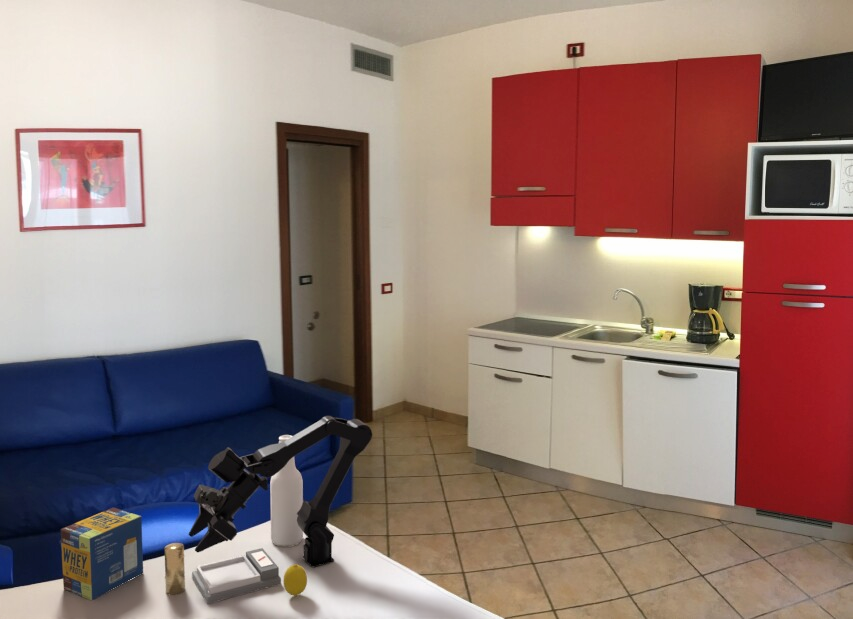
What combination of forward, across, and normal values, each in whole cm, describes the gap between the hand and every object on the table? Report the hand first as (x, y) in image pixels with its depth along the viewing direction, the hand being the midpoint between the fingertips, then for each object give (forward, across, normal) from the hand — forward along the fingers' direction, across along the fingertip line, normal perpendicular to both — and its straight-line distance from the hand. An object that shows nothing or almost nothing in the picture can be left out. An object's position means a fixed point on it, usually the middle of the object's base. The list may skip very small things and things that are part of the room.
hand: (192, 543), depth 175 cm
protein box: (+22, -12, -6) cm, 25 cm away
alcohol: (-12, -15, +27) cm, 33 cm away
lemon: (-7, +15, +23) cm, 28 cm away
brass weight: (+11, 0, +5) cm, 12 cm away
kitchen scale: (+1, +2, +15) cm, 15 cm away
